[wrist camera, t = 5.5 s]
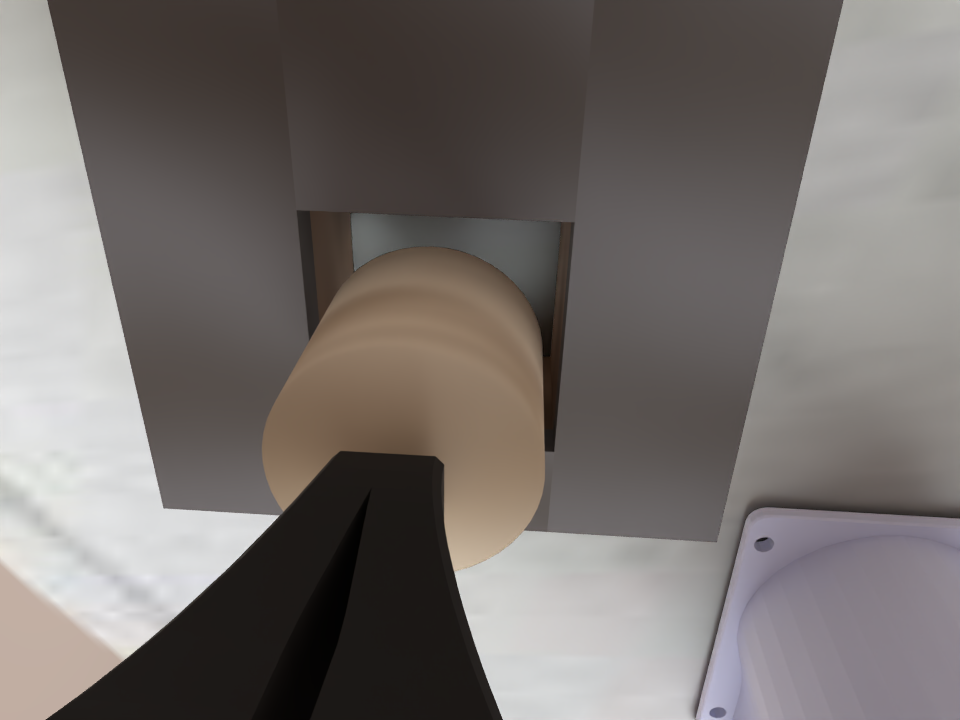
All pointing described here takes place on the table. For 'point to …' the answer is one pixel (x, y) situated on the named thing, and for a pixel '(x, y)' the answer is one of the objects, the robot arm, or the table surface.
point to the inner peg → (424, 391)
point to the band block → (453, 211)
